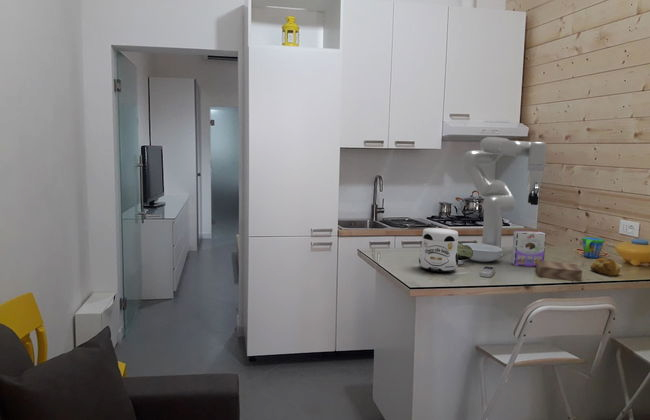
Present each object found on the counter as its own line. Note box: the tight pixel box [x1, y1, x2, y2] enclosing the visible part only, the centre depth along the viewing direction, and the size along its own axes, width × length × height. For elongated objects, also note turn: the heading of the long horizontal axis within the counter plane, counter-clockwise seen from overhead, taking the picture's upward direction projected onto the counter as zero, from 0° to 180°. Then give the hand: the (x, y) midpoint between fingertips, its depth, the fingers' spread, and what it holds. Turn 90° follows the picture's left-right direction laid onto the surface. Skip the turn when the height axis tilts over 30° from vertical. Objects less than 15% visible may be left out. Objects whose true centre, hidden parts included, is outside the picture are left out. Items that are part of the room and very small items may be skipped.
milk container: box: [418, 227, 459, 273], centre depth 229 cm, size 17×17×18 cm
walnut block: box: [535, 260, 583, 282], centre depth 229 cm, size 17×14×5 cm
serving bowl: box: [462, 242, 503, 263], centre depth 256 cm, size 21×21×7 cm
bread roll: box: [589, 257, 621, 277], centre depth 238 cm, size 13×10×8 cm
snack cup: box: [581, 236, 605, 259], centre depth 276 cm, size 16×11×10 cm
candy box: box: [511, 230, 547, 268], centre depth 247 cm, size 14×6×16 cm, turn 84°
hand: (532, 203), depth 245 cm, fingers open, 9 cm apart
